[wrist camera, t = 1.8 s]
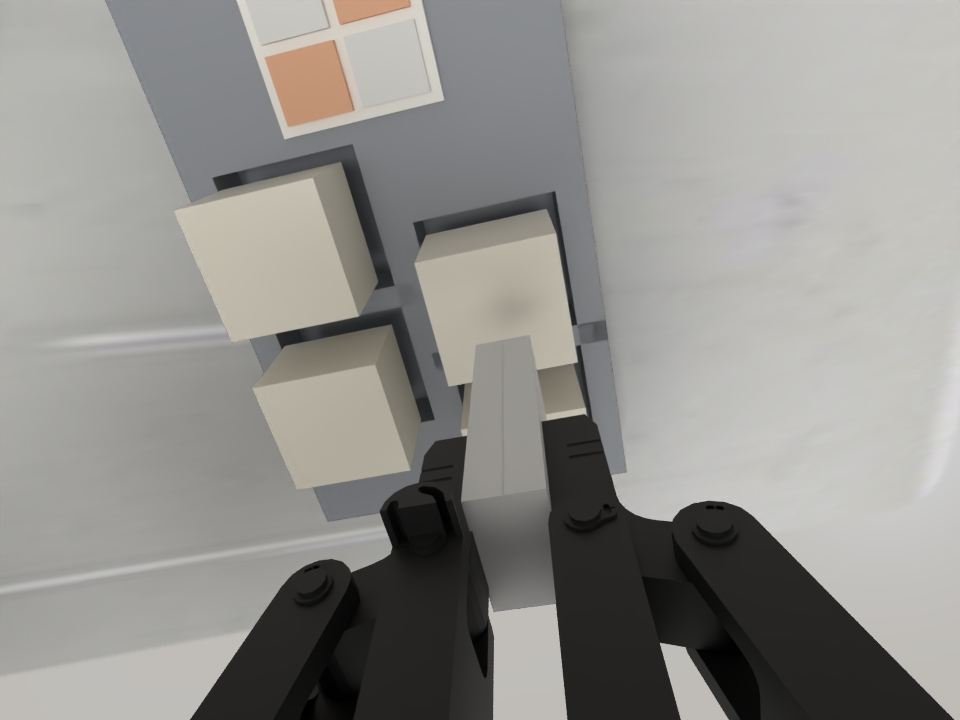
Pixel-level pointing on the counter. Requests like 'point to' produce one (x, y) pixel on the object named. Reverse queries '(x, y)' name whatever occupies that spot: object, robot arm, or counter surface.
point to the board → (387, 155)
